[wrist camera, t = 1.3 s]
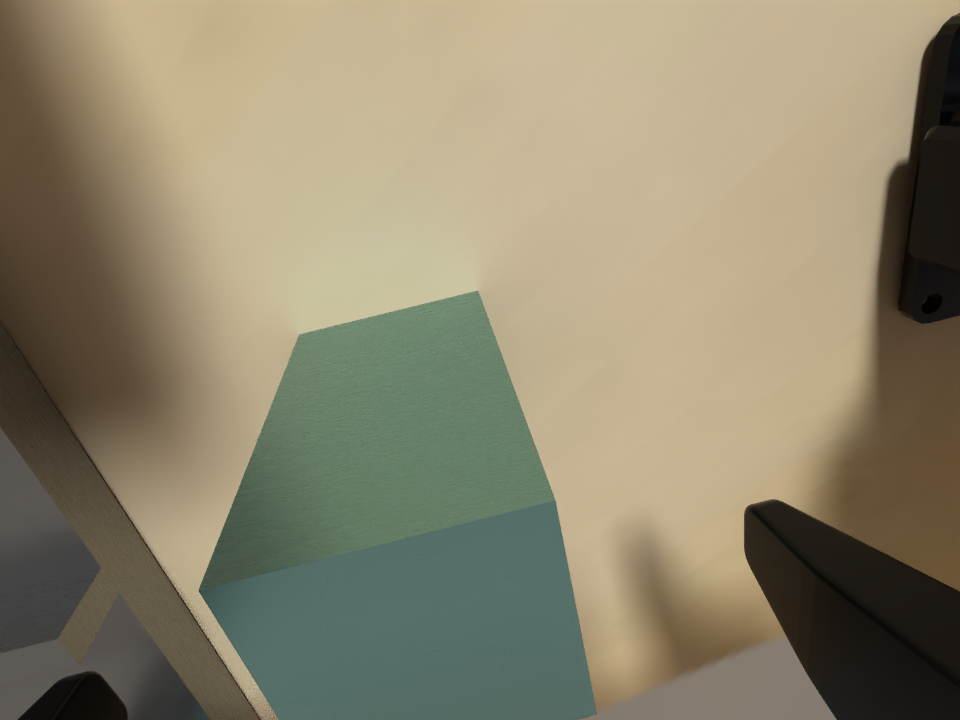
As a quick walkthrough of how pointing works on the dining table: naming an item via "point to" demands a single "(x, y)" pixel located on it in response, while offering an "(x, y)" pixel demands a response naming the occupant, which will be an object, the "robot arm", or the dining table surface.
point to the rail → (87, 578)
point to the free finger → (400, 535)
